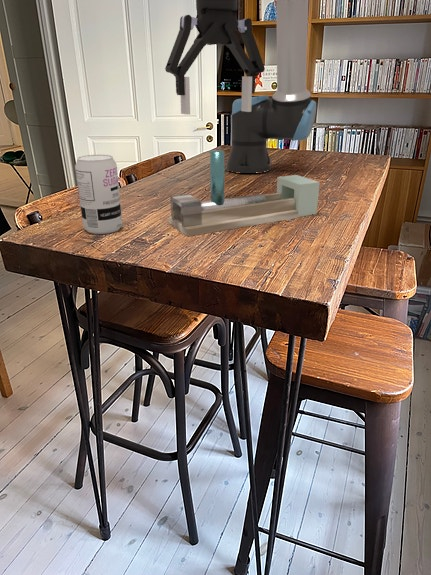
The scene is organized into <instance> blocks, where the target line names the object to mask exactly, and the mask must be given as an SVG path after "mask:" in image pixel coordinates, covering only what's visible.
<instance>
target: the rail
mask: <svg viewBox="0 0 431 575" xmlns="http://www.w3.org/2000/svg"><path fill="white" fill-rule="evenodd" d="M263 195H264V196H265V198H266V202H262V203H255V204H248V205H241V206H234V207H227V208H220V209H213V210H207V211H202V206H201V202H202V200H200V199H198V198H196V197H194V196H193V195H191V194H189V193H182V194H175V195H170V212H171V214H170V216H168V221H169V223H168V224H170V225H171V226H172V227H174V228H175V229H176V230H178V231H179V232H180V233H182V234H183V235H185V236H187V237H191V236H199V235H203V234H204V235H205V234H210V233H215V232H216V233H217V232H222V231H229V230H234V229H235V230H236V229H240V228H245V227H252V226H257V225H262V224H264V225H265V224H270V223H275V222H281V221H286V220H287V221H288V220H292V219H297V218H299V217H298V211H296V210H295V199H293V198H289V199H282V200H281V194H280V193H277V192H273V193H266V194H263ZM179 206H180V207H181V213H182V220H181V219H180V216H179Z"/></svg>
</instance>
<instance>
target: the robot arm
mask: <svg viewBox="0 0 431 575" xmlns="http://www.w3.org/2000/svg"><path fill="white" fill-rule="evenodd" d="M275 3H276V4H275V5H276V6H275V7H276V85H277V86H276V87H277V88H276V91H275V92H274V93H273V95H272V97H271V98H272V99H270V97H269V95H268V94H267V95H265V94H264V95H258V96H253V94H255V92H256V78H257V77H258V76H259V74H262V73H264V72H265V66H264V63H263V59H262V56H261V53H260V50H259V47H258V44H257V41H256V39H255V36H254V32H253V22H252V19H251V18H243V19H240V20H239V19H238V18H237V12H238V0H195V9H196V15H195V17H192V16H191V14H185V15H182V16H180V19H179V30H178V33H177V36H176V38H175V41H174V43H173V46H172V50H171V52H170V55H169V57H168V60H167V62H166V65H165V68H164V69H165V72H166V73H170V74H171V75H173V76H174V77H175V93H176V95H177V96H180V114H181V115H191V95H190V94H191V93H190V90H191V89H190V88H191V87H190V76H186V74H187V72H188V71H189V70H190V68H191V67H192V65H193V63H194V62H195V61H196V59H197V58H198V56H199V55H200V53H201V52H202V51H203V49H204V47H205V46H213V45H217V46H226V47H227V48H228V49H229V50H230V52H231V53H232V56H233V57H234V58H235V59H236V61H237V63H238V64H239V66H240V68H241V69H242V71H243V73H244V74H245V76H241V79H242V80H241V98H237V99H235V100H234V101H233V103H232V108H231V147H230V151H229V154H228V157H227V160H226V163H225V165H226V166H225V169H227V170H229V171H233V172H240V173H256V172H264V171H267V170H270V169H271V170H272V163H271V158H270V156H269V151H268V147H267V143H268V142H267V141H268V140H284V141H286V140H287V141H293V142H294V141H305V140H307V139H308V138H309V137H310V135H311V133H312V130H313V126H314V124H315V119H316V115H317V114H316V113H317V101H315V100H313V99H312V93H311V92H310V91H309V90H308V89H307V64H308V63H307V60H308V59H307V58H308V57H307V56H308V54H307V53H308V26H309V25H308V22H309V18H308V16H309V0H275ZM194 27H195V28H196V31H198V34H197V36H195V39H193V43H192V45H191V46H190V48H189V49H188V51H187V52H186V54H185V55H184V57H182V56H183V54H184V51H185V47H186V45H187V43H188V40H189V38H190V34H191V31H192V30H193V29H194ZM237 29H238V30H237ZM236 31H238V32H239V33H240V36H241V39H242V42H243V45H244V48H245V50H244V48H243V46H242V45H241V43H240V40H239V37H238V36H237V34H236ZM245 51H246V52H245ZM181 58H182V59H181ZM227 170H226V171H227ZM229 171H228V172H229Z"/></svg>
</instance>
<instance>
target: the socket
mask: <svg viewBox="0 0 431 575" xmlns="http://www.w3.org/2000/svg"><path fill="white" fill-rule="evenodd" d="M276 178H277V180H276V193H280V194H281V200H282V199H289V198H293V199H295V210H296V211H298V218H300V217H306V216H312V214H313V215H317V214H318V203H319V192H320V181H319V180H318V181H317V180H314V179H312V178H308V177H305V176H301V175H298V174H292V175H285V176H277V177H276Z"/></svg>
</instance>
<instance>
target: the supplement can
mask: <svg viewBox="0 0 431 575" xmlns="http://www.w3.org/2000/svg"><path fill="white" fill-rule="evenodd" d="M117 165H118V164H117V162H116V161H115V159H114V158H113V155H110V154H86V155H82V156H77V158H76V163H75V165H74V166H75V168H74V170H75V176H76V184H77V190H78V197H79V206H80V211H81V212H80V213H81V219H82V220H81V221H82V227H83V229H84V230H86V232H88V233H90V234H94V235H105V234H106V235H107V234H112V233H115V232H118V231H119V230H120V229H121V228H122V226H123V224H124V223H123V217H122V216H123V215H122V204H121V197H120V185H119V176H118V166H117Z"/></svg>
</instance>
